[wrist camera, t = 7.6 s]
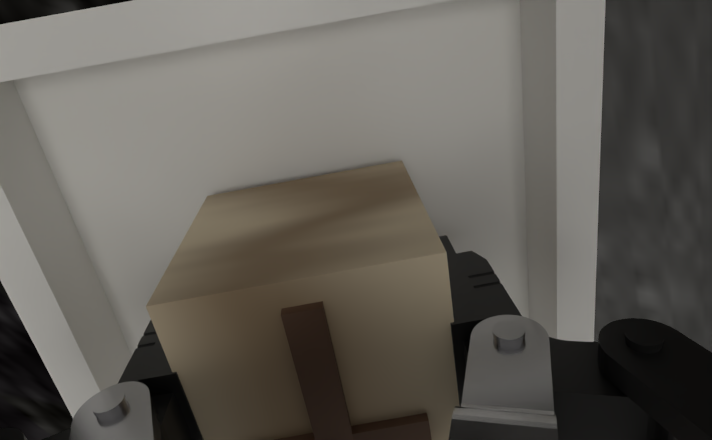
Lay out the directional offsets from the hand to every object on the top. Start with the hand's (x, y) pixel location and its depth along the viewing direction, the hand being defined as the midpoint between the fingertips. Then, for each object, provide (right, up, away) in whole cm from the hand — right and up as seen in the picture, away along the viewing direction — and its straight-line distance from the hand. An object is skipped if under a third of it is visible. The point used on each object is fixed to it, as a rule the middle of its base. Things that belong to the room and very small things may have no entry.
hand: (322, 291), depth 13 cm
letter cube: (0, +1, +1) cm, 1 cm away
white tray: (0, +1, +2) cm, 2 cm away
